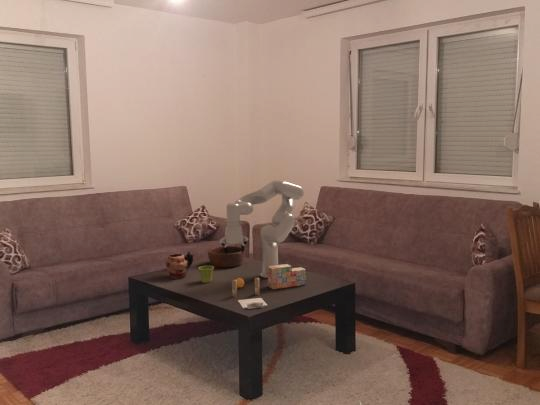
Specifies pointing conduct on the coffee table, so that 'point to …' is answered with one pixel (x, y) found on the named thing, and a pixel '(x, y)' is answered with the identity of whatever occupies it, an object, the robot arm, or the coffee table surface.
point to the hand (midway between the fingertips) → (234, 252)
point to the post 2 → (257, 286)
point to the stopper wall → (255, 305)
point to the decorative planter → (176, 265)
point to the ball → (240, 282)
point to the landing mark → (244, 302)
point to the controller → (188, 259)
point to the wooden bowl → (226, 256)
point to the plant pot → (206, 273)
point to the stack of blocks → (285, 276)
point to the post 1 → (234, 288)
